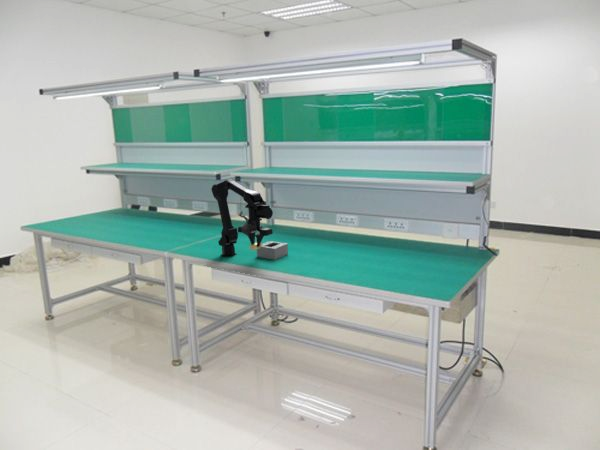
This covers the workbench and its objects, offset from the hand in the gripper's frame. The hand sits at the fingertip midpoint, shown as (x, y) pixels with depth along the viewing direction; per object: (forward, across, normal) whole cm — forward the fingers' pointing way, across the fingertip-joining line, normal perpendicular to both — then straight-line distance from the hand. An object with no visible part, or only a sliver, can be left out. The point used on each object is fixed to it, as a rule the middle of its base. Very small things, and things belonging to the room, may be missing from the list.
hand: (255, 246), depth 238 cm
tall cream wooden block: (+1, 0, 0) cm, 1 cm away
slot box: (+8, +1, +13) cm, 15 cm away
